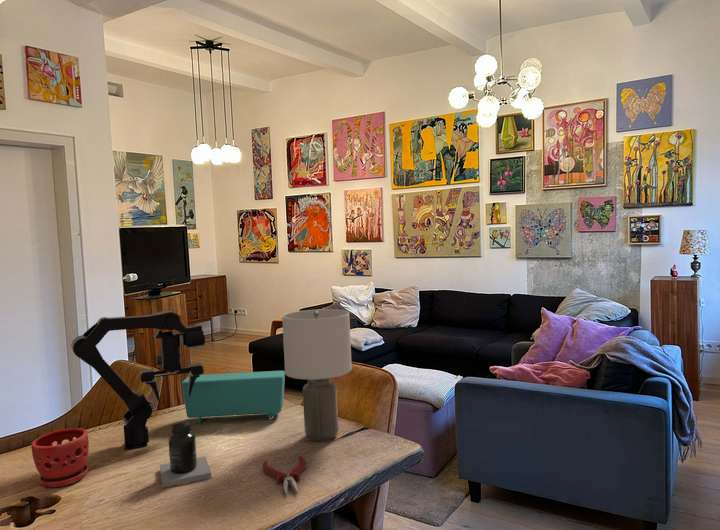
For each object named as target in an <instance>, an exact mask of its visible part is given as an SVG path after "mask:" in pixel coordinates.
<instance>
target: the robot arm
mask: <svg viewBox="0 0 720 530" xmlns="http://www.w3.org/2000/svg"><path fill="white" fill-rule="evenodd" d="M137 329H155V330H157V331H156V333H155V334H153V337H154V338H155V339H160V347H161V349H160V351H161V355H156V368H157V367H161V370H154V368H147V369H141V371H140V382H141V383H145V385H149V386H150V388H151V390H152V392H153V393H154V395H155V397H156V400H157V402H160V394H159V389H158V385H157V380H156V378H159V377H161V378H162V377H167V376H174V375H175V376H176V375H183V374H188V376H189V383H188V397H190V395H191V391H192V388H193V385H194V383H195V380H196V378H198V377H200V375H205V372H204V371H205V369H204V365H203V364H202V363H201V362H195V363H188V366H187V367H186V366H185V367H182V356H181V355H182V353H181V346H184V348H185V349H189V348H198V347H204V346H205V343H206V337H205V335H204V331H203V326H202V325H200V324H198V325H194V326H187V327H186V326H185V325H184V324H183V323H182V322H181V319H180V316H179V314H178V313H176V312H174V311H172V310H168V309H167V310H161V311H158V312H153V313H151V314H148V315H133V316H130V315H129V316H117V317H116V316H115V317H107V316H103V317H100V318H99V319H98V320H97V322H96V323H95V324H92V326H91V327H89V328H88V329H87V330H86V331H85V332H84V333H83V334H82V335H78V336H76V337H74V338H73V339H72V341H71V344H70V345H71V350H72V352H73V354H74V355H75V356H76V357H77V358H79V359H80V360H82V361H83V362H84V363H85V364H87V365H89V366H90V367H92V368H93V369H94V370H95V372H96V373H98V375H99V376H100V377H101V379H103V380H104V381H105V382H106V383H107V384H108V386H109V387H110V388H111V389H112V390H113V391H114V392H115V393H116V394H117V396H118V397H120V399H121V400H122V402H123V403H124V405H125V407H126V409H127V411H126V412H125V413H124V414H123V416H122V417H121V419H122V421H123V423H124V425H123V438H124V439H123V440H124V445H123V446H124V450H126V451H127V450H131V449H137V448H142V447H147V446H148V443H149V442H150V439H149V438H150V437H149V426H147V425H146V424H147V422H148V420H149V419H150V418H151V416H152V414H153V408H152V406H151V405H152V402H151V401H150V400H149V399H148V398H147V397H146V396H145V395H144V393H143V392H142V391H141V390H138V391H137V392H135V391H133V390H132V389H131V388H130V387H129V386H128V385H127V383H126V382H125V381H124V380H123V379H122V378H121V376H119V375H118V374H117V372H115V370H114V369H113V368H112V367H111V366H110V364H108V362H106V360H105V359H104V358H103V356H102V354H101V353H100V350H99V349H98V347H97V345H98V344H99V343H100V342H101V341H102V339H103V338H104V337H106V335H107V334H108V333H109V332H110V331H113V332H114V331H122V330H123V331H124V330H126V331H127V330H137ZM163 330H164V331H163ZM174 330H175V331H177V332H174V333H173V331H174Z"/></svg>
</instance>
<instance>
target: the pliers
mask: <svg viewBox="0 0 720 530" xmlns="http://www.w3.org/2000/svg"><path fill="white" fill-rule="evenodd" d="M298 459H299V461H300V462H299V461H298V462H299V463H298V464H297V465H296V467H294V468H293V469H292V471H290V473H289V474H287V473H284V472H281V471H280V470H278V469H276V468H274V467H272V466H270V465H269V463H268V459H266V460H264V461H263V463H262V470H263V473H264V474H265V475H266V476H268V477H269V478H272V479H274V480H275V481H276V485H277V486H280V485H283V491H284V494H285V496H287V495H288V492H289V487H291V489H292V490H293V491H294V492H295V493H296V494H299V490H298V485H297V483H300V481H301V475H302V473H303V472H304V471H305V470H306V468H307V461H306V459H305V457H304V456H303V455H299V457H298Z"/></svg>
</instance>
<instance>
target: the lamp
mask: <svg viewBox="0 0 720 530" xmlns="http://www.w3.org/2000/svg"><path fill="white" fill-rule="evenodd" d="M281 317H282V318H281V319H282V336H283V337H282V339H283V354H284V356H283V357H284V371H285V376H287V377H289V378H292V379H295V380H296V379H297V380H307V383H306V384H304V385H303V388H302V405H303V420H304V423H303V424H304V425H303V426H304V428H303V429H304V435H305V437H306V438H307V439H308V440H309V439H311V440H310V441H312V440H313V442H317V441H319V442H327V440H328V441H331V440H333V439H335V438H336V436H337V435H338V432H339V418H338V417H339V416H338V415H339V414H338V397H337V396H338V395H337V392H338V391H337V390H338V389H337V386H336V384H335V382H332V381H331V379H333V378H338V377H342V376H344V375H347V374H349V373H351V371H352V369H353V368H352V366H353V365H352V346H351V345H352V342H351V326H350V325H351V324H350V311H349V310H346V309H345V310H344V309H334V308H333V309H332V308H331V309H329V308H327V309H325V308H322V309H317V308H316V309H306V310H298V311H292V312H286V313H285V314H282V316H281Z"/></svg>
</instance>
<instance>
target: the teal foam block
mask: <svg viewBox="0 0 720 530" xmlns="http://www.w3.org/2000/svg"><path fill="white" fill-rule="evenodd" d="M285 379H286V374H285V370H271V371H269V370H268V371H253V372H252V371H251V372H249V371H248V372H231V373H215V374H214V373H212V374H201V375H200V377H198V378H196V380H195V383H194V385H193V388H192V391H191V395H190V397H188V383H189V375H188V376H187V377H186V378H184V380H183V381H182V382H181V389H182V395H183V402H184V408H185V412H186V413H185V414H186V417H187V418H188V419H197V418H198V419H197V423H196V424H200V423H201V421H202V419H203V418H212V417H213V418H215V417H217V418H218V417H229V416H246V415H247V416H249V415H251V416H252V415H265V414H266V416H267V417H268V418H272V417H273V416H274V415H275V414H276V413H277V414H279V413H281V412H282V409H283V405H284V399H285V397H284V395H285ZM277 414H276V415H277ZM276 415H275V416H276Z"/></svg>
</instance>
